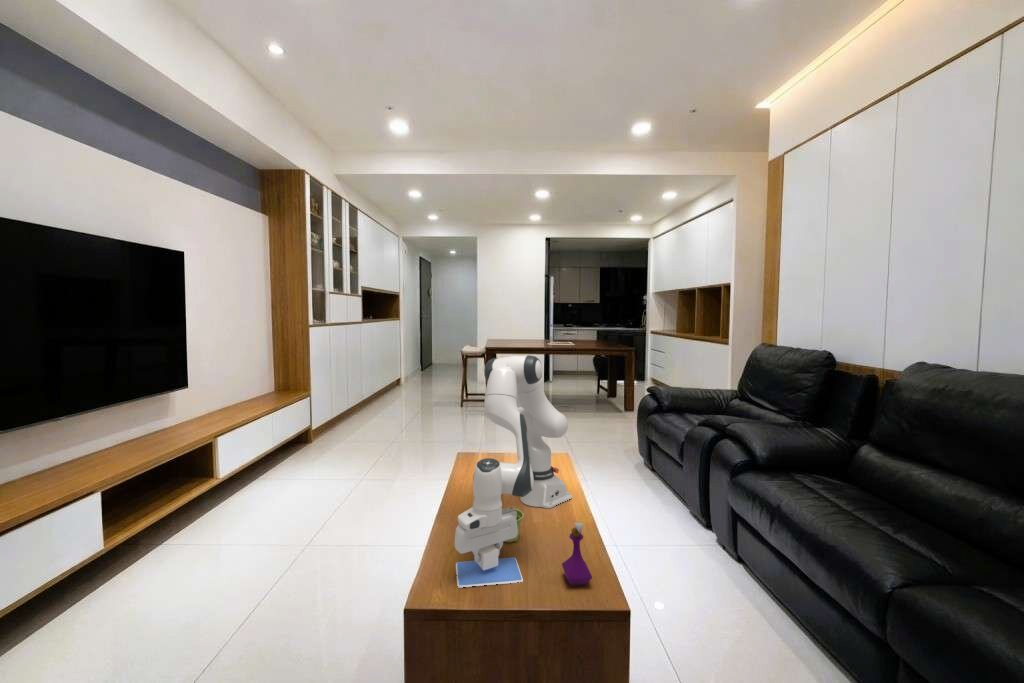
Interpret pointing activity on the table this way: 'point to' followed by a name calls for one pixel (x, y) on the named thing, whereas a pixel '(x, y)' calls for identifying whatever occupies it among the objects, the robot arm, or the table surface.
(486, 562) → the cream block
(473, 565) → the tablet computer
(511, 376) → the robot arm
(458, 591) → the table surface
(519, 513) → the plant pot
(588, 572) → the perfume bottle
